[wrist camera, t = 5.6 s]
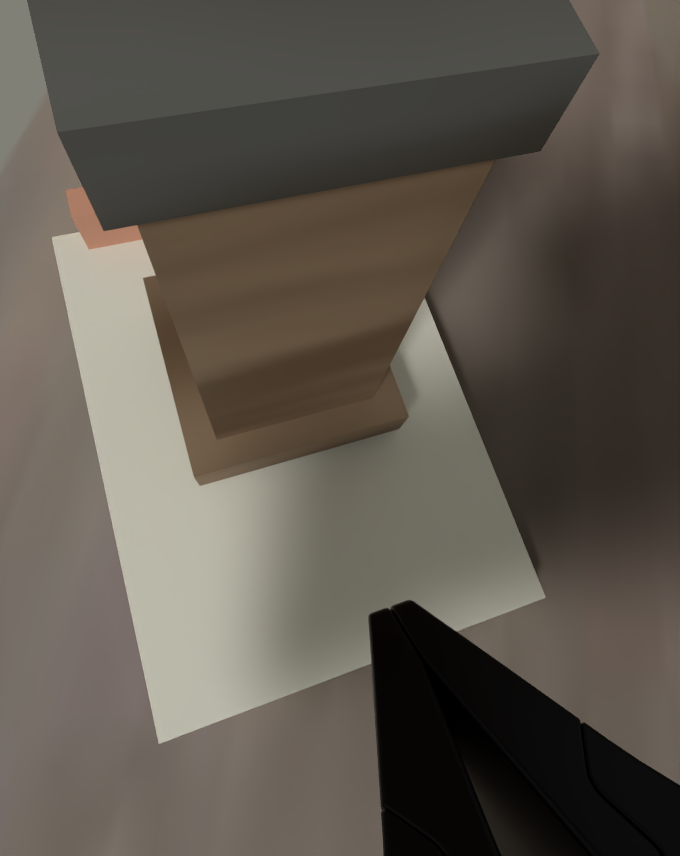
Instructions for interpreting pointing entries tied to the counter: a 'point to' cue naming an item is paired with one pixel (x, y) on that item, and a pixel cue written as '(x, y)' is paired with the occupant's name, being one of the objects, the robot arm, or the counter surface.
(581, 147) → the counter surface
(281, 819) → the counter surface
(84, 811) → the counter surface
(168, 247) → the brown wooden pedestal
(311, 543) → the thin white base plate
